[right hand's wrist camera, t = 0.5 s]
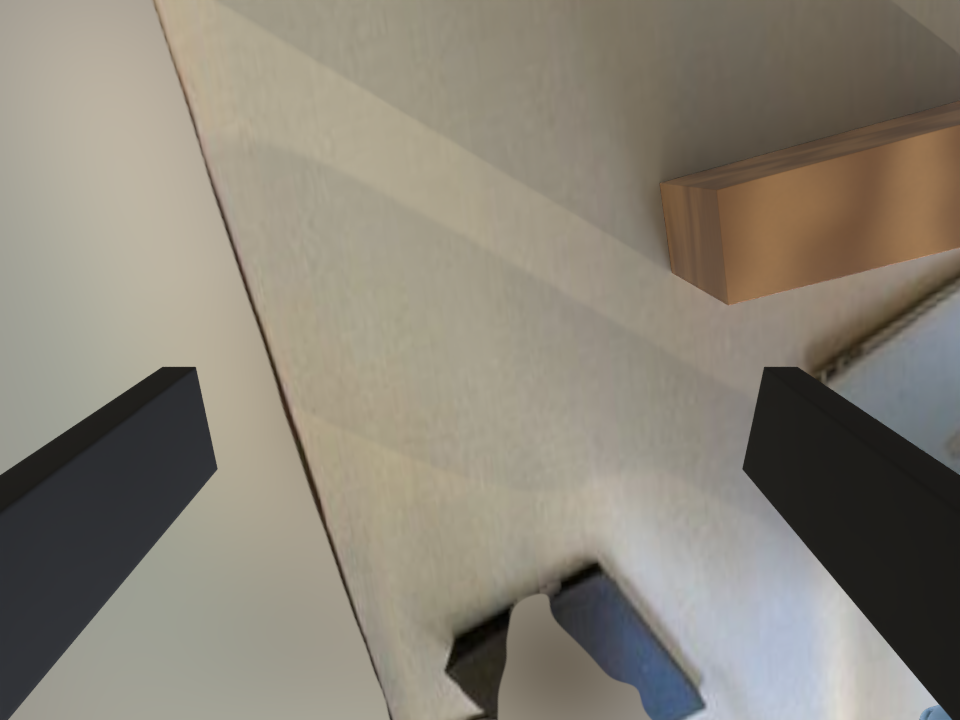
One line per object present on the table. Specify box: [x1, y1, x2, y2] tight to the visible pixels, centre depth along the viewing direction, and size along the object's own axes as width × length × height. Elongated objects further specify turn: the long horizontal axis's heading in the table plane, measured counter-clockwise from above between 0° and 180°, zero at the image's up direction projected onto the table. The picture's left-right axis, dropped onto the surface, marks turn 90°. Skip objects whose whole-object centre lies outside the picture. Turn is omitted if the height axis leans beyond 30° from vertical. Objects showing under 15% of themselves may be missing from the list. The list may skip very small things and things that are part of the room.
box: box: [660, 101, 960, 305], centre depth 42 cm, size 30×8×12 cm, turn 105°
